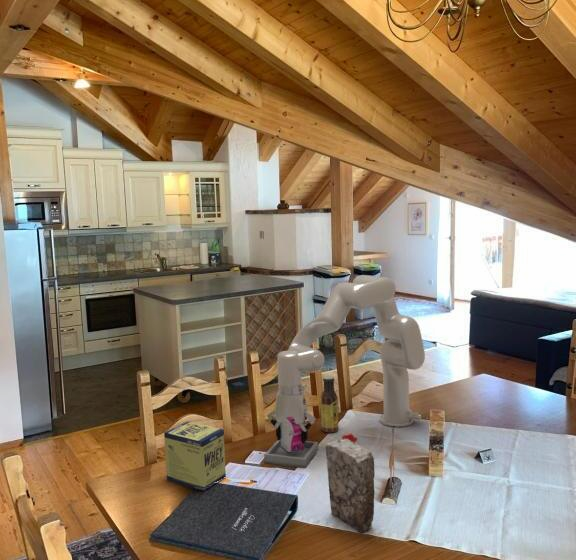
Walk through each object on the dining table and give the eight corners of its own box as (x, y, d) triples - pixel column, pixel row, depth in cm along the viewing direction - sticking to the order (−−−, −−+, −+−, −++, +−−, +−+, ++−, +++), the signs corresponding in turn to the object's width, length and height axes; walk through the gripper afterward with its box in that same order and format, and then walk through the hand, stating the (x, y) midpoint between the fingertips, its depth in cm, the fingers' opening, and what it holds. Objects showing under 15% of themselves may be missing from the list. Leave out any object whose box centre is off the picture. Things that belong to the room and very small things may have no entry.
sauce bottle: (337, 433, 200) (336, 380, 198) (320, 433, 202) (318, 380, 199) (339, 427, 207) (338, 375, 205) (322, 426, 208) (321, 375, 206)
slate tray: (318, 450, 187) (318, 442, 187) (305, 468, 174) (305, 459, 174) (280, 445, 192) (279, 437, 192) (264, 462, 179) (264, 454, 179)
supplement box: (288, 454, 179) (287, 420, 178) (280, 447, 184) (279, 414, 183) (304, 450, 182) (303, 416, 180) (295, 443, 187) (294, 411, 186)
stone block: (324, 515, 147) (322, 442, 144) (343, 505, 151) (341, 435, 149) (361, 536, 136) (359, 458, 134) (380, 525, 141) (379, 450, 138)
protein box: (204, 492, 161) (202, 441, 159) (165, 480, 169) (162, 431, 168) (227, 477, 170) (224, 428, 168) (189, 466, 178) (186, 420, 176)
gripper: (318, 387, 181) (320, 438, 183) (269, 383, 187) (271, 433, 189) (311, 394, 174) (313, 447, 176) (261, 390, 180) (263, 442, 182)
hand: (292, 440), depth 183 cm, fingers closed on supplement box, 8 cm apart
